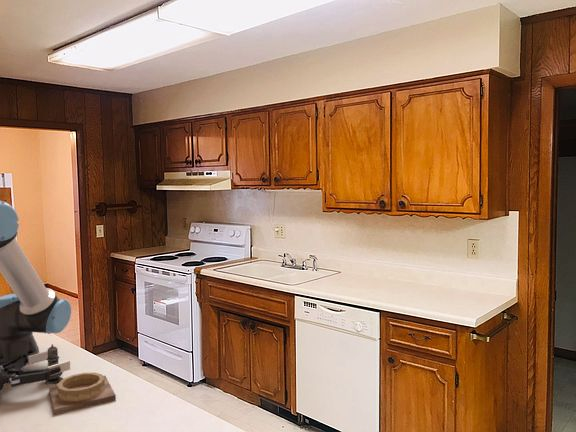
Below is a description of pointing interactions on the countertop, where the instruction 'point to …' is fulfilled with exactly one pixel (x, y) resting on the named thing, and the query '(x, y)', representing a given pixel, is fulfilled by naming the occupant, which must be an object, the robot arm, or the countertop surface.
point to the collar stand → (80, 392)
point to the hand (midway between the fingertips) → (59, 359)
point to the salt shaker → (52, 361)
